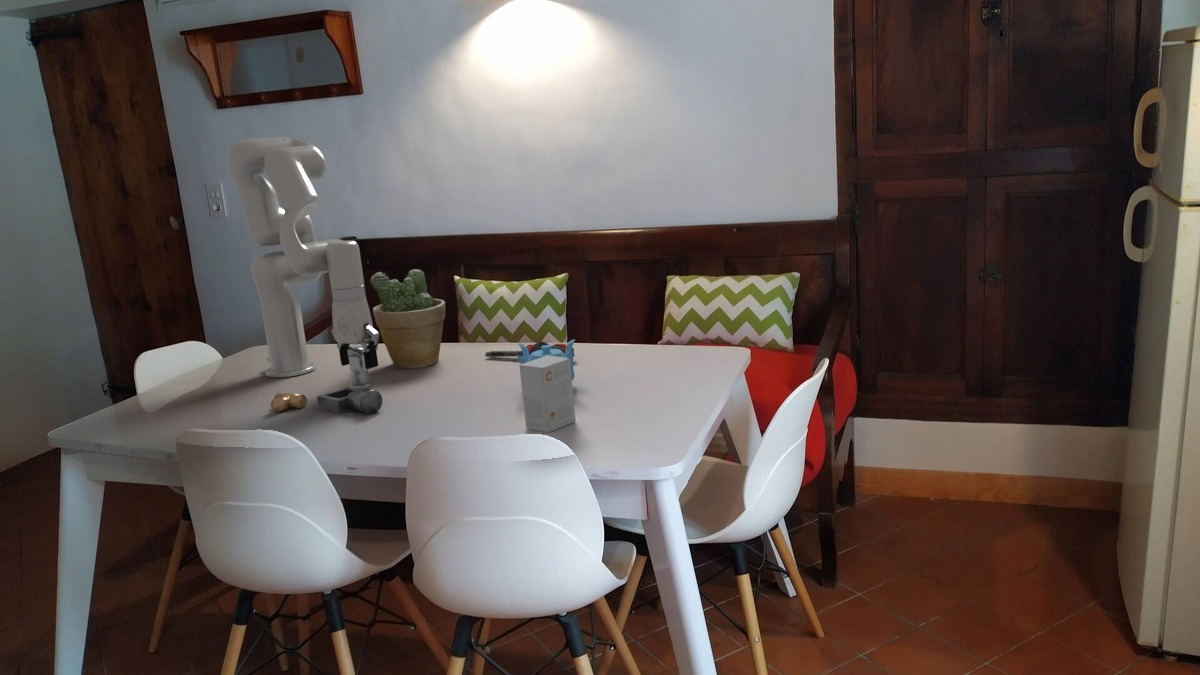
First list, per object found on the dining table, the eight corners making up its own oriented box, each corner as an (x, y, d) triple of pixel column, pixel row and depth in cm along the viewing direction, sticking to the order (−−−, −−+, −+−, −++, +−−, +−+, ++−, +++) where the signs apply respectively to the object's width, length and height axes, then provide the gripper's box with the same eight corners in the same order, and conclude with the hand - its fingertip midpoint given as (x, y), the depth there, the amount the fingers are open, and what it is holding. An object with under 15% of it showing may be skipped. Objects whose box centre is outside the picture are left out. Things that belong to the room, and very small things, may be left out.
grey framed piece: (318, 409, 208) (315, 387, 207) (349, 399, 214) (346, 378, 212) (358, 418, 198) (355, 395, 197) (389, 408, 204) (386, 386, 203)
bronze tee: (307, 405, 211) (305, 393, 211) (288, 413, 206) (286, 400, 205) (284, 404, 214) (282, 391, 214) (265, 411, 209) (262, 399, 208)
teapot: (519, 400, 203) (514, 355, 200) (522, 384, 215) (518, 341, 213) (578, 395, 203) (574, 350, 200) (578, 379, 215) (574, 336, 213)
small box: (553, 417, 188) (547, 354, 185) (576, 421, 184) (571, 357, 181) (524, 428, 182) (518, 364, 180) (548, 433, 178) (542, 367, 175)
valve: (593, 361, 240) (563, 368, 227) (509, 361, 252) (476, 367, 239) (592, 336, 240) (562, 341, 226) (508, 338, 252) (475, 342, 239)
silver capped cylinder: (349, 390, 222) (343, 349, 220) (363, 386, 225) (358, 345, 223) (359, 392, 219) (353, 351, 217) (374, 388, 222) (368, 347, 220)
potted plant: (418, 352, 257) (406, 262, 251) (467, 357, 246) (456, 263, 240) (365, 368, 242) (353, 273, 237) (415, 375, 231) (403, 275, 226)
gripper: (314, 296, 220) (325, 366, 223) (357, 298, 208) (368, 372, 212) (341, 290, 225) (351, 359, 229) (384, 292, 214) (395, 365, 217)
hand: (359, 365), depth 220 cm, fingers open, 9 cm apart
